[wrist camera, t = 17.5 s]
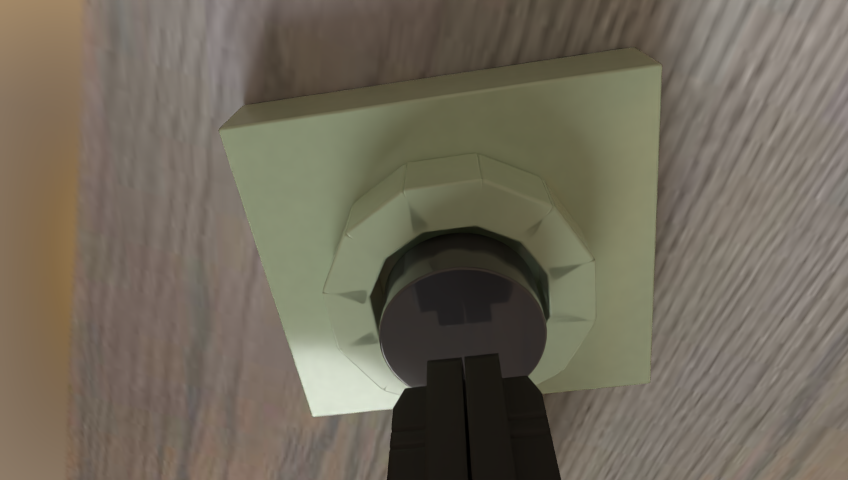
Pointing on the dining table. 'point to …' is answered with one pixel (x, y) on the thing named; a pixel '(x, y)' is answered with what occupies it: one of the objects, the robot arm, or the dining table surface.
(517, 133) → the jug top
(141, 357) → the dining table surface
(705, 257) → the dining table surface
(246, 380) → the dining table surface
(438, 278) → the lid button
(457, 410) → the robot arm
